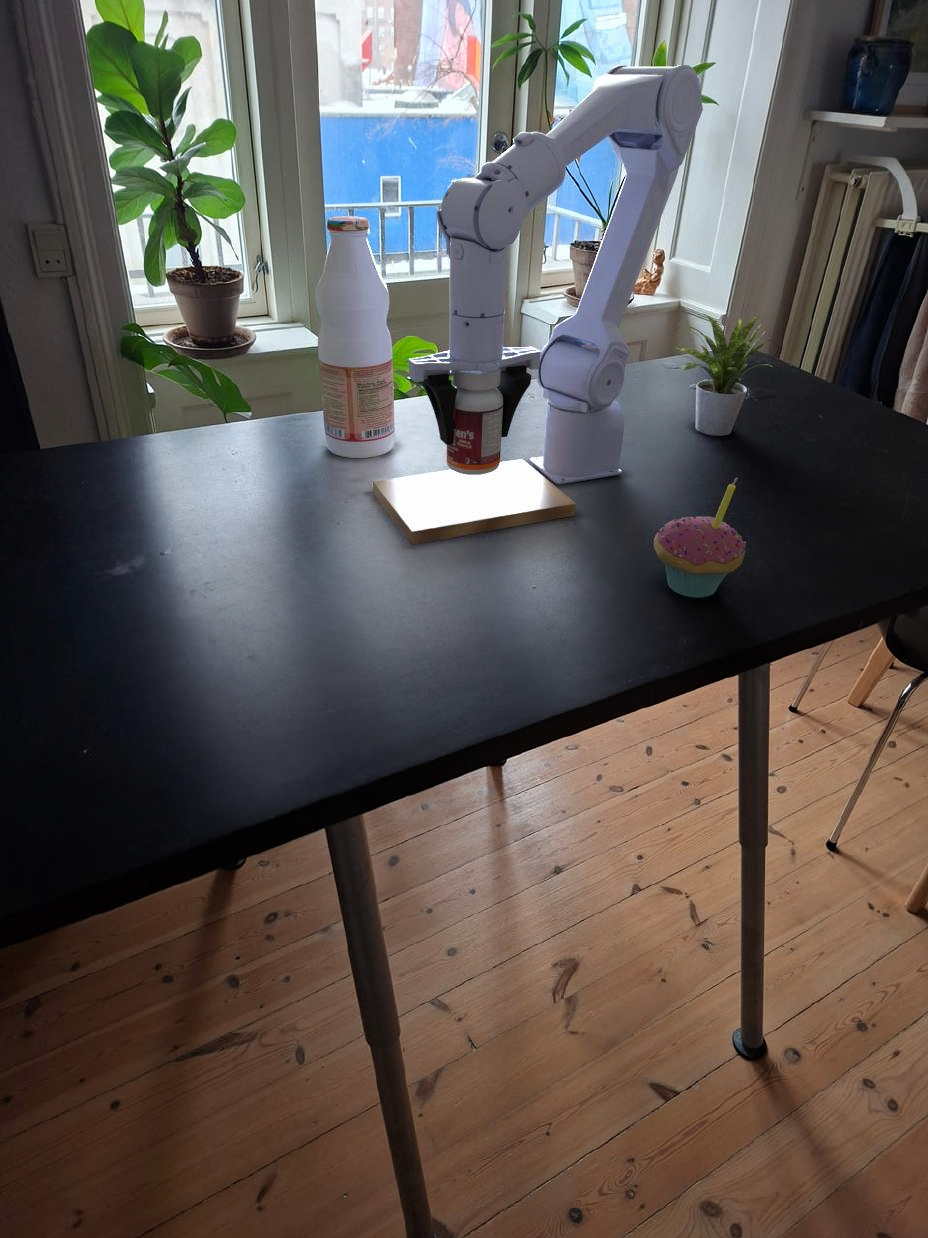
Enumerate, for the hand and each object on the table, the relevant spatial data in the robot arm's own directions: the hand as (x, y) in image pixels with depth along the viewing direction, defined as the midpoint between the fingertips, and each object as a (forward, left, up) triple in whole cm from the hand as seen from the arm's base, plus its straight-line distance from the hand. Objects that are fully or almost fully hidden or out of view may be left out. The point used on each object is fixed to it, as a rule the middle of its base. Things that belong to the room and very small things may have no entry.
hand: (473, 437), depth 90 cm
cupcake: (-13, +25, -8) cm, 29 cm away
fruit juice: (+7, -22, -8) cm, 25 cm away
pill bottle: (0, 0, -4) cm, 4 cm away
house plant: (-44, -12, -8) cm, 46 cm away
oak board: (0, 0, -8) cm, 8 cm away
